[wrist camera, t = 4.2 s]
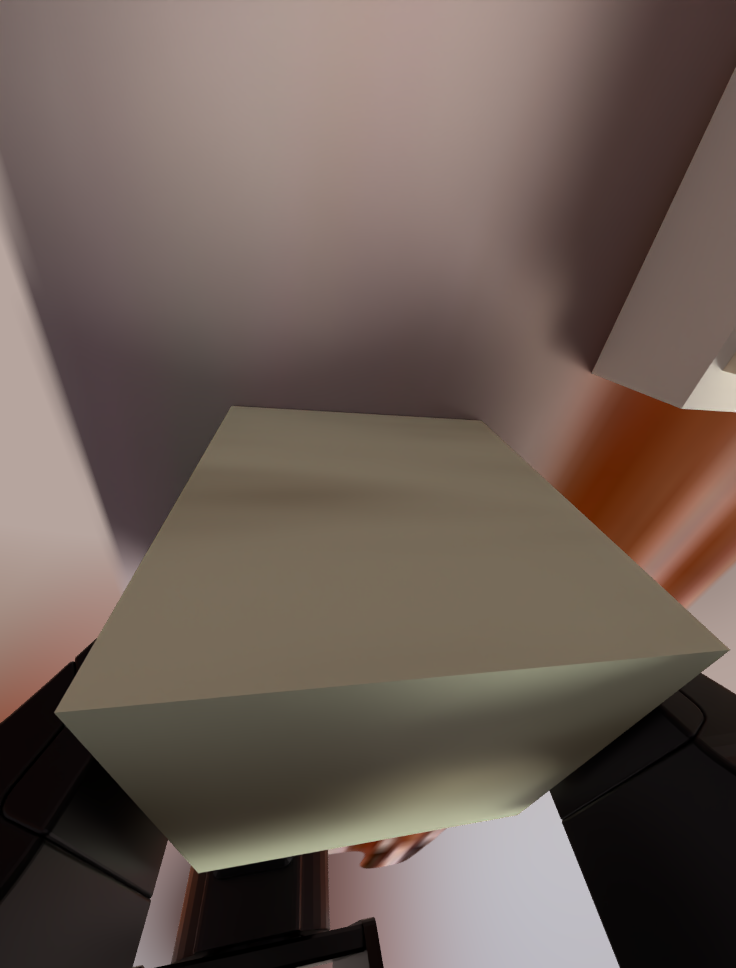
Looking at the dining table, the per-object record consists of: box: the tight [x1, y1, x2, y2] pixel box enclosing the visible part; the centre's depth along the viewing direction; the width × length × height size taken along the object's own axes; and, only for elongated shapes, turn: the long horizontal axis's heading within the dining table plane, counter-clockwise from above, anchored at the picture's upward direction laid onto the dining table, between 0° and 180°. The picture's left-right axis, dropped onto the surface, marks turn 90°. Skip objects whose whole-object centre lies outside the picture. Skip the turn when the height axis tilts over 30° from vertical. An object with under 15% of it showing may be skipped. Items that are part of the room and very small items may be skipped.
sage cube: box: [54, 406, 730, 873], centre depth 7 cm, size 6×6×6 cm
